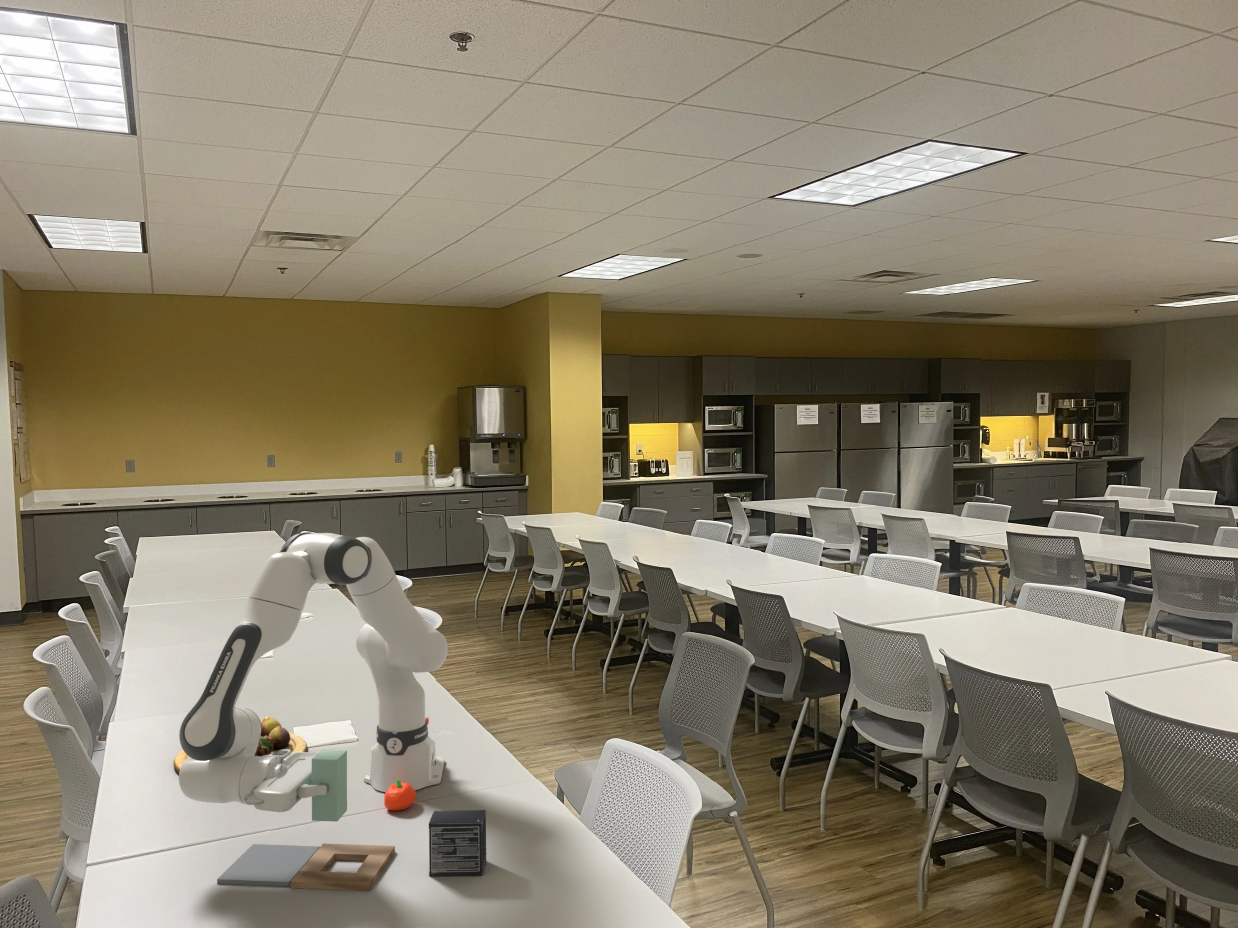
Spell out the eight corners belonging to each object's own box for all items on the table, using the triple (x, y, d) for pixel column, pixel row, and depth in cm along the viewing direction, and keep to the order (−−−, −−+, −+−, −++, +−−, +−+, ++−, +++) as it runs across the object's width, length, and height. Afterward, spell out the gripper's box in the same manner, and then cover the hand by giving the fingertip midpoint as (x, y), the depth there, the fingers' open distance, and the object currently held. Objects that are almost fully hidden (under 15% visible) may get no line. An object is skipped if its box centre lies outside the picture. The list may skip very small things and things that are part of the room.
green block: (322, 809, 172) (322, 749, 172) (347, 810, 172) (346, 750, 171) (311, 820, 167) (311, 758, 167) (337, 821, 167) (337, 759, 166)
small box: (487, 859, 174) (487, 807, 173) (483, 876, 167) (483, 822, 167) (434, 860, 173) (433, 808, 173) (428, 877, 167) (427, 823, 167)
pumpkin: (385, 819, 193) (381, 791, 192) (385, 804, 201) (381, 777, 200) (418, 811, 195) (414, 783, 194) (416, 796, 202) (413, 770, 202)
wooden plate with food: (145, 767, 221) (145, 736, 220) (251, 728, 249) (251, 700, 248) (230, 795, 206) (230, 761, 205) (332, 750, 234) (332, 720, 234)
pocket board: (323, 848, 178) (323, 843, 178) (394, 851, 177) (394, 845, 177) (290, 887, 163) (290, 881, 163) (368, 890, 162) (368, 884, 162)
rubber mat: (253, 847, 178) (253, 843, 178) (319, 850, 177) (319, 846, 177) (217, 883, 164) (217, 878, 164) (289, 885, 163) (289, 881, 163)
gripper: (238, 785, 160) (311, 787, 159) (287, 745, 180) (352, 747, 179) (238, 819, 160) (312, 822, 159) (287, 775, 180) (352, 777, 179)
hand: (333, 782), depth 169 cm, fingers closed on green block, 5 cm apart
